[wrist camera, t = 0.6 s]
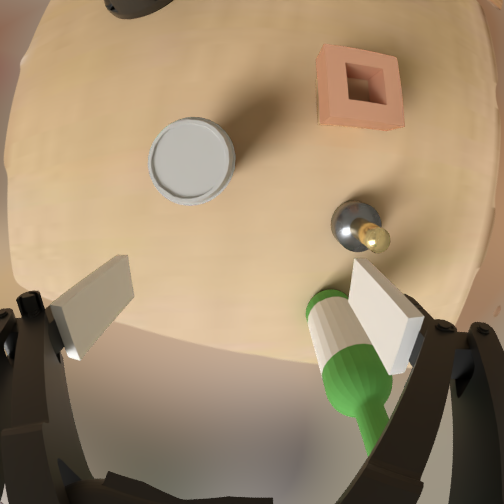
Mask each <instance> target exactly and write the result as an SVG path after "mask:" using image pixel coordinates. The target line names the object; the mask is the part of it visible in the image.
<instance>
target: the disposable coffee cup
mask: <svg viewBox="0 0 504 504" xmlns="http://www.w3.org/2000/svg"><path fill="white" fill-rule="evenodd" d="M235 158H236V156H235V150H234V146H233V143H232V141H231V139H230V137H229V136H228V134H227V133H226V131H225V130H224V129H222V128H221V127H220V126H219V125H218V124H216V123H214V122H213V121H211V120H208V119H205V118H200V117H188V118H183V119H179V120H177V121H175V122H173V123H171V124H169V125H168V126H166V127H165V128H164V129H163V130H162V131H161V132H160V133H159V134H158V136H157V137H156V138H155V140H154V142H153V144H152V146H151V148H150V152H149V156H148V169H149V174H150V177H151V180H152V182H153V184H154V186H155V187H156V188H157V190H158V191H159V192H160V193H161V194H162V195H163V196H164V197H165V198H167V199H168V200H170V201H172V202H174V203H177V204H180V205H188V206H192V205H199V204H203V203H206V202H208V201H210V200H212V199H214V198H215V197H217V196H218V195H219V194H220V193H221V192H222V191H223V190H224V189H225V188H226V187H227V185H228V184H229V182H230V180H231V178H232V175H233V172H234V169H235Z"/></svg>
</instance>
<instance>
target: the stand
mask: <svg viewBox="0 0 504 504" xmlns="http://www.w3.org/2000/svg"><path fill="white" fill-rule="evenodd" d="M315 82H316V98H317V119H318V125H325V124H320V115H319V96H318V81H317V79H316V80H315ZM347 84H348V97H349V99H350V100H358V101H365V102H370V99H369V88H368V81H367V80H361V79H355V78H347ZM332 126H339V125H332ZM344 127H349V126H344ZM354 128H359V127H354Z"/></svg>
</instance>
